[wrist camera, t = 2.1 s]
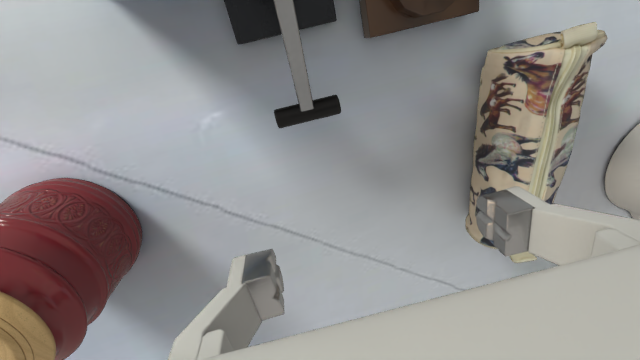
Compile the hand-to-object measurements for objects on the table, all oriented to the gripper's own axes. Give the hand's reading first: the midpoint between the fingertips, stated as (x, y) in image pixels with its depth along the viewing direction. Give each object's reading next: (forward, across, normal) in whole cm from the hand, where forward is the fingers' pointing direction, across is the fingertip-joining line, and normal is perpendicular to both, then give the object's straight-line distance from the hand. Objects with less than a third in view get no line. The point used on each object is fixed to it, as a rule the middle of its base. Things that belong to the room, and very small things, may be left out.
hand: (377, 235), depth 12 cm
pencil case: (+22, -19, +7) cm, 30 cm away
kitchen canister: (+22, +28, +6) cm, 36 cm away
